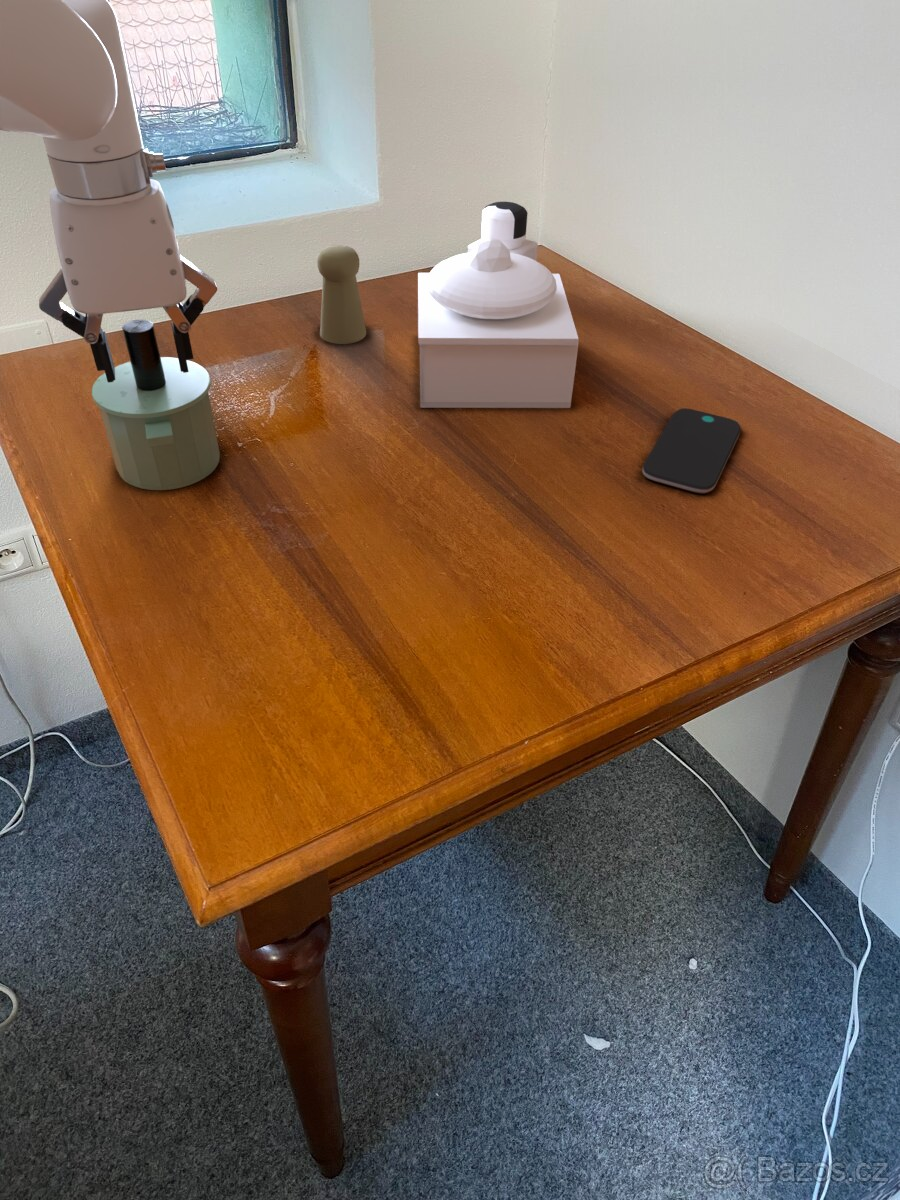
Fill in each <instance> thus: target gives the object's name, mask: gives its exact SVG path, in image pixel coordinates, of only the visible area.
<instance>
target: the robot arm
mask: <svg viewBox="0 0 900 1200" xmlns="http://www.w3.org/2000/svg"><path fill="white" fill-rule="evenodd" d="M135 103H136V102H135V98H134V93H133V89H132V84H131V78H130V72H129V68H128V63H127V59H126V53H125V48H124V43H123V39H122V33H121V29H120V24H119V21H118V17H117V14H116V11H115V9H114V8H113V5H112V4H111V3H110V2H109V0H0V131H2V132H8V133H9V132H11V133H18V134H26V135H30V136H31V135H32V136H36V137H37V136H38V137H42V141H43V143H44V147H45V150H46V157H47V160H48V163H49V166H50V171H51V174H52V178H53V182H54V185H55V186H54V187H53V188H51V189H50V190H49V207H50V217H51V222H52V227H53V233H54V238H55V243H56V249H57V253H58V259H59V263H60V269H59V271H58V272H57V274H56V275H55V276H54V277H53V278H52V280H51V281H50V283H49V285H48V286H47V287H46V289H45V290H44V292H43V293H42V295H41V296H40V297H39V300H38V307H39V310H40V311H42V312H43V313H45V314H46V315H48V316H50V317H51V318H53V320H56V321H59V322H60V323H61V324H62V325H63V326H64V327H66V328H67V329H69V330H70V331H72V332H73V333H75V334H77V335H78V336H80V337H82V338H83V339H84V341H85V342H86V343H87V344H89V345H90V349H91V353H92V356H93V360H94V365H95V367H96V370H97V372H102V371H104V373H105V374H106V378H107V381H108V382H114V380H115V368H114V367H115V364H114V360H113V357H112V352H111V348H110V345H109V342H108V337H107V333H106V331H104V330H103V328H102V321H103V316H104V314H115V313H125V312H134V311H141V310H142V311H143V310H150V309H159V308H162V309H163V310H164V311H165V313H166V314H167V316H168V318H169V319H170V320H171V321H172V323H170V325H171V331H172V336H173V340H174V344H175V349H176V354H177V358H178V360H179V364H180V369H181V372H182V371H183V373H186V372H189V371H188V366H187V361H186V360H189V361H191V360H194V353H193V348H192V343H191V338H190V333H189V332H190V331H191V329H192V326H193V324H194V322H195V321H196V320H197V319H198V317H199V316H200V315H201V314H202V312H204V308H205V307H206V305H208V303H209V302H210V301H211V300H212V299H213V297H214V296H215V294H216V293H217V292H218V286H217V283H216V280H215V279H214V278H212V277H211V276H209V275H208V274H207V273H206V272H205V271H203V270H202V269H200V268H199V267H197V266H196V265H195V264H193V263H192V262H191V261H190V260H188V259H186V258H185V257H184V256H183V255H181V250H180V246H179V243H178V238H177V235H176V230H175V226H174V222H173V218H172V214H171V212H170V208H169V204H168V202H167V199H166V197H165V194H164V191H163V188H162V187H161V183H160V182H159V181H158V180H155V179H152V178H154V176H153V175H154V174H158V172H166V171H167V170H166V164H165V159H164V158H165V157H164V154H163V153H162V152H161V153H154V152H153V151H150V152H149V149H148V148H144V143H143V138H142V134H141V133H142V132H141V129H140V123H139V119H138V113H137V108H136V104H135ZM186 281H187V282H189V283H191V284H192V285H194V286H195V287H196V289H195V290H194V292H193V293H192V294H190V295H189V297H188V298H187V283H186ZM66 294H67V295H68V299H69V301H70V303H71V306H72V307H68V306H66V304H65V303H63V302H62V299H63V298H64V297H65V295H66ZM186 298H187V299H186ZM184 300H186V301H185V302H184V303H182V302H183V301H184ZM83 314H84V315H83Z"/></svg>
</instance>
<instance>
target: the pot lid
mask: <svg viewBox="0 0 900 1200" xmlns="http://www.w3.org/2000/svg"><path fill="white" fill-rule="evenodd" d="M121 329H122V333H123V337H124V341H125V346H126V349H127V353H128V357H129V361H127V362H124V363H122V364H119V365H116V366H114V368H115V380H114V382H108V381H107V378H106V374H105V372H103V373H102V374H101V375H100V376H98V378H97V379H96V380H95V381H94V383H93V385H92V387H91V397H92V400H93V402H94V404H95V405H96V406H97V407H98V409H99V408H100V409H102V410H104V411H105V412H107V413H110V414H113V415H116V416H121V417H127V418H152V417H160V416H165V415H169V414H173V413H176V412H179V411H182V410H185V409H187V408H189V407H191V406H193V405H194V404H196V403H198V402H199V401H200V400H201V399H203V398H204V397H205V396H206V394H207V393H208V394H209V392H210V388H211V383H212V382H211V377H210V374H209V372H208V371H207V370H206V369H205V368H204V366H202V365H200V364H199V363H196V362H194V361H191V360H186V361H187V366H188V371H189V372H186V373H183V371H182V372H181V369H180V364H179V360H178V357H173V356H161V352H160V347H159V344H158V340H157V335H156V330H155V327H154V323H153V322H152V321H150V320H148V319H134V320H130V321H127V322H125V323H124V324H123V325H122V326H121ZM100 409H99V410H100Z"/></svg>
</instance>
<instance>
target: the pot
mask: <svg viewBox="0 0 900 1200" xmlns="http://www.w3.org/2000/svg"><path fill="white" fill-rule="evenodd" d="M98 409H99V412H100V413H99V414H100V417H101V420H102V423H103V427H104V431H105V435H106V437H107V440H108V444H109V447H110V452H111V455H112V458H113V461H114V462H113V463H114V466H115V468H116V469H115V470H116V471H117V472H118V475H119V477H120V478H121V479H122V480H123V481H124V482H125V483H127V484H129V485H130V486H132V487H135V488H139V489H141V490H143V489H144V490H146V491H147V490H149V491H169V490H176V489H181V488H184V487H188V486H191V485H194V484H196V483H198V482H201V481H202V480H204V479H206V478H207V477H208V476H210V475H211V474H212V473H213V472H214V471H215V470H216V468H217V467H218V465H219V463H220V460H221V459H220V458H221V453H220V448H219V442H218V438H217V437H218V436H217V431H216V426H215V421H214V416H213V409H212V405H211V400H210V394H209V392H208V393H207V394H206V396H205V397H204V398H203V399H201V400H200V401H199V402H198V403H196V404H194V405H193V406H191V407H189V408H187V409H185V410H182V411H179V412H176V413H173V414H169V415H165V416H160V417H152V418H127V417H121V416H116V415H113V414H110V413H107V412H105V411H104V410H102V409H100V408H99V407H98Z"/></svg>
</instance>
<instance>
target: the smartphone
mask: <svg viewBox="0 0 900 1200" xmlns="http://www.w3.org/2000/svg"><path fill="white" fill-rule="evenodd" d="M741 430H742V427H741V425H740V424H739V422H738V421H736V420H734V419H732V418H729V417H725V416H721V415H717V414H713V413H709V412H705V411H702V410H697V409H692V408H686V407H685V408H679V409H678V410H676V411H674V412H673V414H672V415H671V417H670V419H669V421H668V422H667V424H666V425H665V427H664V428H663V431H662V432H661V434H660V435H659V437H658V438H657V441H656V442H655V444H654V445H653V447H652V449H651V450H650V453H649V454H648V456H647V457H646V459H645V461H644V462H643V466H642V474H643V476H644V477H645V478H646V479H648V480H650V481H652V482H654V483H658V484H662V485H666V486H668V487H672V488H676V489H679V490H683V491H686V492H689V493H695V494H703V495H704V494H708V493H710V492H711V491H713V490H714V489H715V487H716V485H717V484H718V481H719V479H720V478H721V475H722V473H723V471H724V469H725V467H726V464H727V462H728V460H729V458H730V456H731V454H732V452H733V449H734V447H735V445H736V444H737V440H738V439H739V437H740V434H741Z"/></svg>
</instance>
